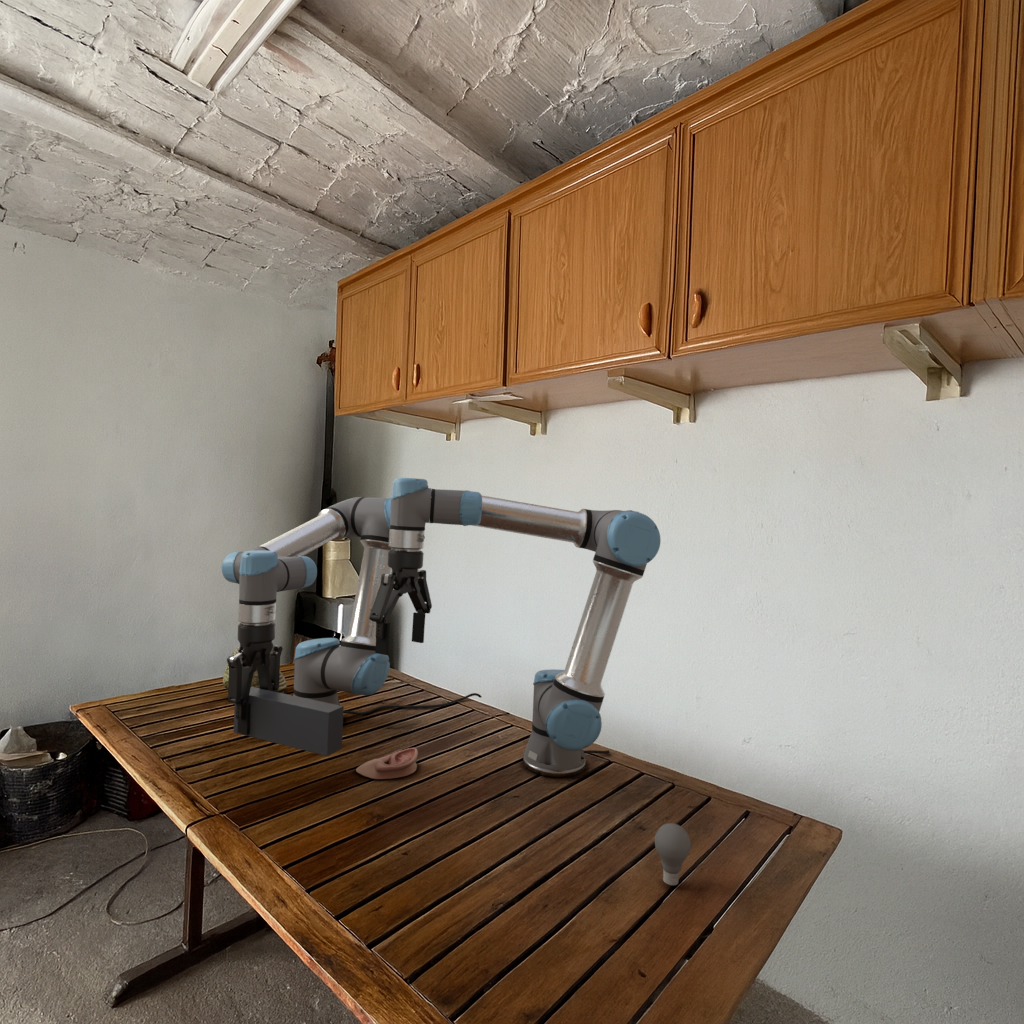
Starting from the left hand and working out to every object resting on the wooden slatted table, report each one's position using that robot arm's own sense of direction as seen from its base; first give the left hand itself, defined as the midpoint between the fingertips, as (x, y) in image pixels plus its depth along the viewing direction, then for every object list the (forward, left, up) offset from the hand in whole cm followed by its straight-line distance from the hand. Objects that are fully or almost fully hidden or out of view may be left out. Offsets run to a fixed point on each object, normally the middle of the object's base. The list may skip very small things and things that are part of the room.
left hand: (253, 729), depth 137 cm
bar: (-2, +9, -1) cm, 9 cm away
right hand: (-19, +25, +19) cm, 37 cm away
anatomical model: (-25, +15, -12) cm, 32 cm away
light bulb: (-29, +84, -12) cm, 90 cm away
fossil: (-32, -57, -12) cm, 66 cm away
